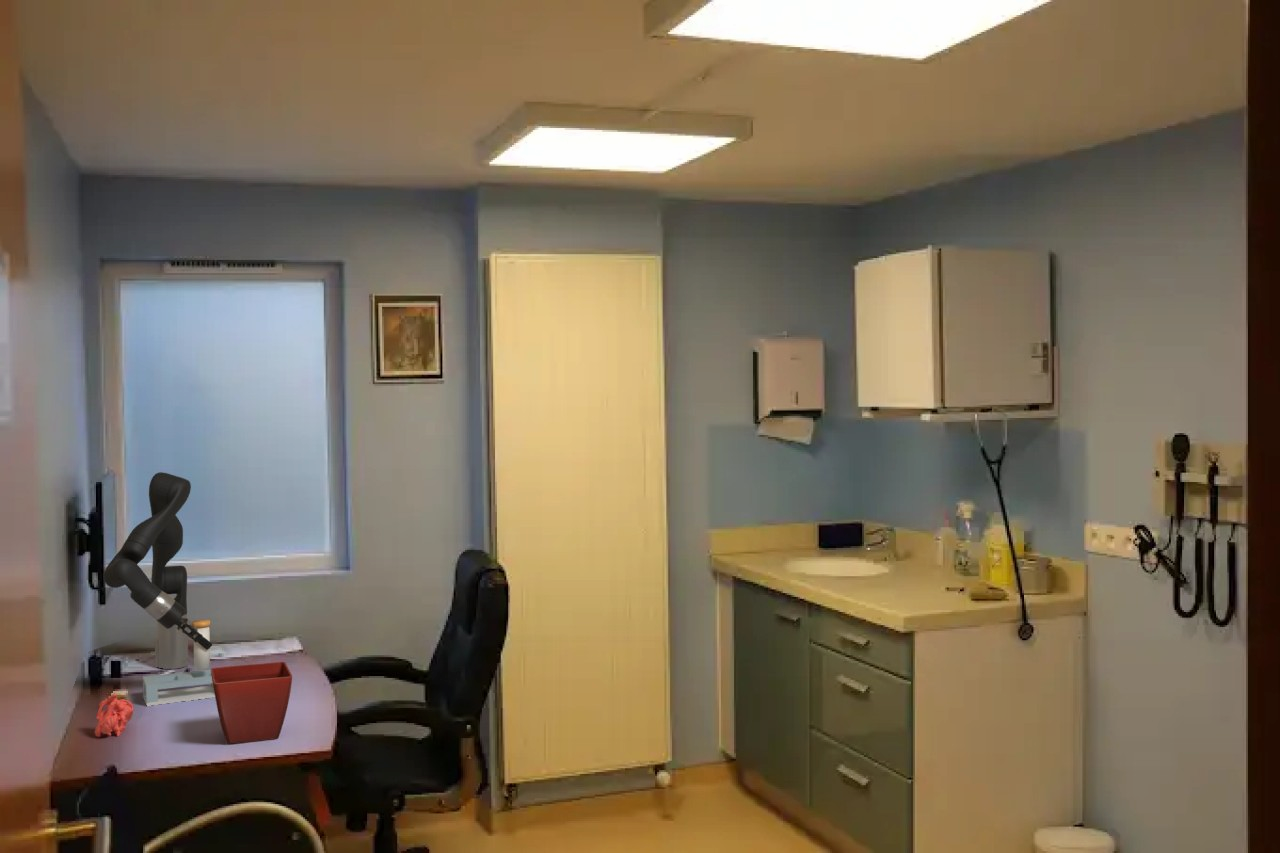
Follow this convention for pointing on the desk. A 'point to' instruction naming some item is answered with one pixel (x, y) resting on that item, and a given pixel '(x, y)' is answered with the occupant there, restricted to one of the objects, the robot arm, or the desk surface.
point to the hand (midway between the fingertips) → (208, 645)
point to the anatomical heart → (113, 716)
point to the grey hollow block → (177, 680)
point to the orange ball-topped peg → (199, 651)
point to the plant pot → (252, 700)
